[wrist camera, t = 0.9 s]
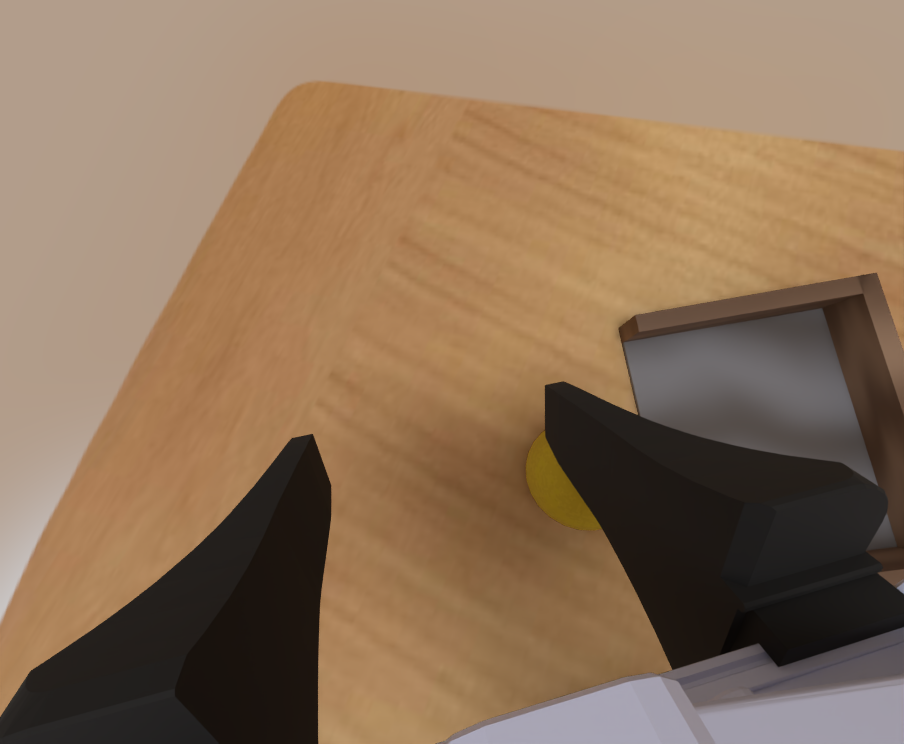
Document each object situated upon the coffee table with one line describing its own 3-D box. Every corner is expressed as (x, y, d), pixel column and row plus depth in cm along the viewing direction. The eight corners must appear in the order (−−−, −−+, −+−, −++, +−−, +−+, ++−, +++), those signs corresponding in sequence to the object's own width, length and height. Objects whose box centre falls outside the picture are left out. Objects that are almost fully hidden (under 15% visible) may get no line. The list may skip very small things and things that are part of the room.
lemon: (513, 500, 25) (523, 533, 17) (529, 412, 25) (546, 405, 18) (603, 521, 24) (658, 566, 16) (617, 430, 25) (677, 432, 17)
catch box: (917, 561, 22) (982, 581, 19) (679, 591, 23) (706, 615, 20) (830, 291, 25) (876, 272, 22) (618, 328, 26) (635, 315, 23)
